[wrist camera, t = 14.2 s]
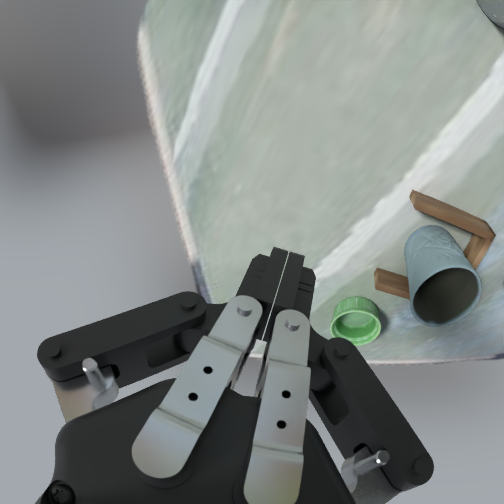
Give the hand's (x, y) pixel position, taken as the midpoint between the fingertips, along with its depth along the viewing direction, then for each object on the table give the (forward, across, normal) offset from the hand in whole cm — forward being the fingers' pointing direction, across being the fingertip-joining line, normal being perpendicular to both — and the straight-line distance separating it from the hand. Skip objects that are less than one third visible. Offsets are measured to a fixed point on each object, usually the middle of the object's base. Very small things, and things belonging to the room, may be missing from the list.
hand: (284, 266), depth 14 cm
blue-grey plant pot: (+29, -21, +11) cm, 38 cm away
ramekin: (+29, -15, +28) cm, 43 cm away
